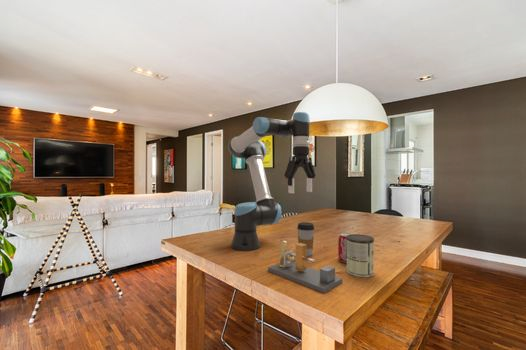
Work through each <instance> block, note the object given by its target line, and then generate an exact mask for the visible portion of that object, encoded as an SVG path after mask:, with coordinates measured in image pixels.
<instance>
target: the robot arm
mask: <svg viewBox="0 0 526 350" xmlns="http://www.w3.org/2000/svg"><path fill="white" fill-rule="evenodd" d="M268 135H269V136H270V135H271V136H277V137H281V138H289V137H292V146H293V147H292V155H290V156H289V159H288V163H287V166H286V169H285V173H284V177H285V178H286V179H287V187H288V189H287V190H288V194H295V178H294V176H295V175H296V173H297V171H298V169H299V168H300V167H301V168H302V169H303V171H304V172H305V175H306V177H307V178H306V192H308V193H312V192H313V179H315V177H316V173H315V169H314V165H313V161H312V157H308V156H309V155H310V147H309V146H310V114H309V113H308V112H306V111H298V112H294V113H293V115H292V119H289V120H282V119H275V118H269V117H265V116H264V117H263V116H258V117H256V118H254V120H253V122H252V126H251V127H249V128H248V129H246V130H245V131H243V132H242V133H241V134H240V135H238V136H234V137H233V138H232V139H230V140H229V142H228V145H227V150H228V152H229V154H230V155H231V156H232V157H234V158H237V159H244V162H245V163H246V164H247V165H248V167H249V172H250V175H251V181H252V184H253V185H252V186H253V190H254V194H255V198H256V200H255V201H248V202H247V201H246V202H242V203H238V204H237V205H236V206H235V207H234V234H233V236H232V241H231V243H230V244H231V248H232V249H233V250H235V251H244V252H245V251H246V252H247V251H254V250H258V249H259V248H260V244H261V243H260V240H259V237H258V233H257V227H259V226H266V225H267V226H268V225H269V226H270V225H272V226H273V225H274V224H275V225H276V224H277V223H279V222H280V221H281V219H282V218H281V217H282V213H283V211H282V206H281V205H280V204H279V203H278V202H276V200H275V198H274V197H272V194H271V192H270V187H269V184H268V179H267V175H266V171H265V166H264V163H263V161H264V160H265V157H266V154H267V149H266V146H265V144H264V142H263V141H261V140H262V139H263V138H265V137H267V136H268Z"/></svg>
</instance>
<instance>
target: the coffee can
mask: <svg viewBox="0 0 526 350" xmlns="http://www.w3.org/2000/svg"><path fill="white" fill-rule="evenodd" d="M346 238H347V263H346V272H347V273H348V274H349V275H352V276H355V277H359V278H371V277H373V276H374V274H375V272H374V253H375V252H374V247H375V246H374V244H375V243H374V242H375V238H374V237H373V236H370V235H367V234H361V233H359V234H358V233H356V234H352V235H347V236H346Z"/></svg>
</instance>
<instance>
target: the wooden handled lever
mask: <svg viewBox="0 0 526 350" xmlns="http://www.w3.org/2000/svg"><path fill="white" fill-rule="evenodd" d="M306 253H307V245H306V244H302V243H299V244H298V243H296V244H295V250H290V251H287V252H286V253H284V267H288V266H290V265H293V264H294V263H295V270H298V271H301V272H302V271H304V270H306V267H307V262H310V263H311V262H312V263H316V259H313V258H310V257H306ZM287 256H288V257H291V258H295V262H291V261H290V262H287Z"/></svg>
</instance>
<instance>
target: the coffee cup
mask: <svg viewBox="0 0 526 350" xmlns="http://www.w3.org/2000/svg"><path fill="white" fill-rule="evenodd" d="M314 233H315V226H314V223H312V222H299V223H298V224H297V240H298V241H297V242H298V243H297V244H299V243H302V244H306V245H307V253H306V257H307V258H309V257H311V256H312V255H313V250H314V240H315V239H314V237H315V234H314Z"/></svg>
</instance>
